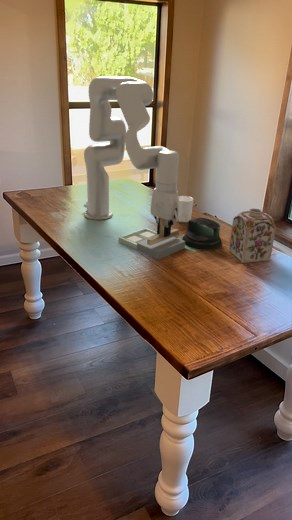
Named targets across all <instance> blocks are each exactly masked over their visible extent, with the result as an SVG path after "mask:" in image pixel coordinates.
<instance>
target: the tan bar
mask: <svg viewBox="0 0 292 520" xmlns="http://www.w3.org/2000/svg"><path fill="white" fill-rule="evenodd" d="M164 227H165V220H164V219H161V218H160V230H159V234H160V235H157V236H155V237H152V238H149V239H147V244H148V245H153V244H156V243H158V242H161V241H164V240H166V239H169V238H171V237H176V236H179V235H180V229H177V228H174V229H171V233H170V236H167V237H164Z"/></svg>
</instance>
